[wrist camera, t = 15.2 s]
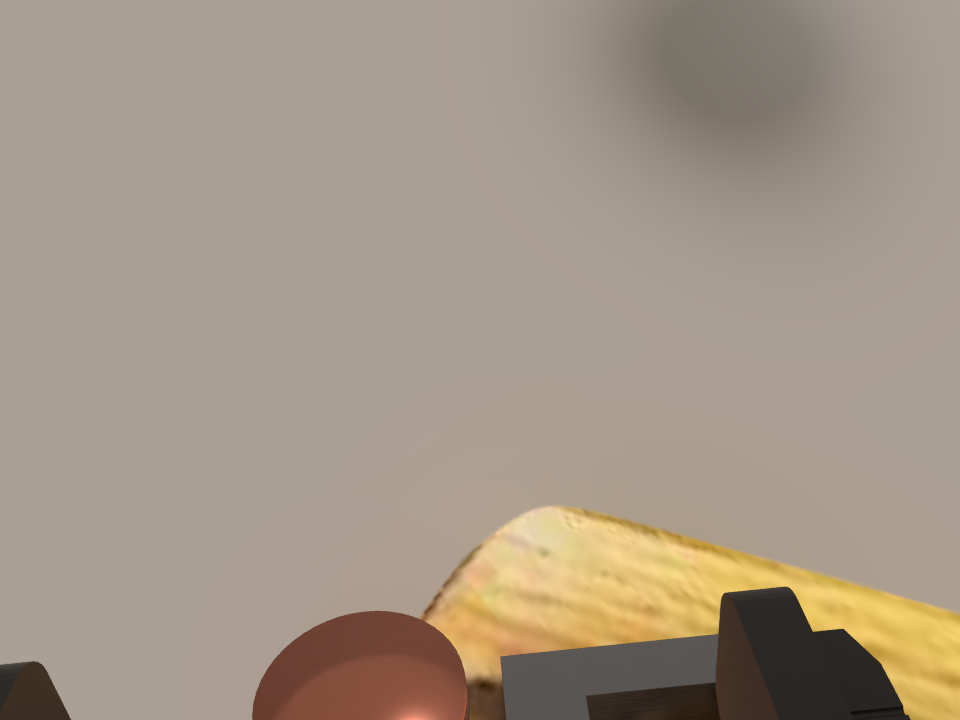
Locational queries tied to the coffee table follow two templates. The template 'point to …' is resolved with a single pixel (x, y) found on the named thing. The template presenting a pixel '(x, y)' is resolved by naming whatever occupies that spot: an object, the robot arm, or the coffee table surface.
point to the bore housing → (615, 682)
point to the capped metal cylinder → (365, 673)
